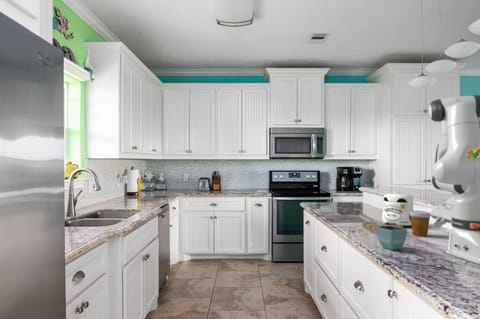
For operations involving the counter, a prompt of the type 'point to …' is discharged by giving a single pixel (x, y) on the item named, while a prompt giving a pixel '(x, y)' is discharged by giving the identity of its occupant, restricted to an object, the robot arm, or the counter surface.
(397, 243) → the flower pot
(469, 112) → the robot arm
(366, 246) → the counter surface
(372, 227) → the walnut T block
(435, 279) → the counter surface
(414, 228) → the disposable coffee cup
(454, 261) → the counter surface
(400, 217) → the milk container
